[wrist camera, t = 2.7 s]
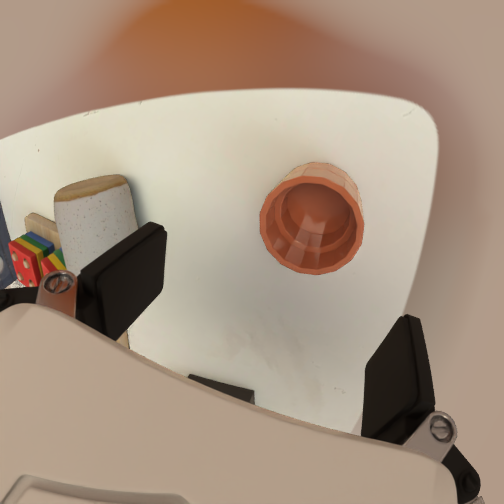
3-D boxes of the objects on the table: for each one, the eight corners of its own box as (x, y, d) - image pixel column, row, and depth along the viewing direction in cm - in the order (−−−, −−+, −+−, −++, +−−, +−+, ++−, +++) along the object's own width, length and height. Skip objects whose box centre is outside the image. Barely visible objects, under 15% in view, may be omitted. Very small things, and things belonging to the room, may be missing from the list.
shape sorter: (32, 211, 32) (-1, 228, 27) (119, 250, 29) (81, 279, 24) (52, 306, 41) (29, 326, 36) (130, 354, 38) (107, 383, 33)
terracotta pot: (377, 209, 20) (384, 237, 15) (315, 255, 23) (306, 291, 19) (321, 144, 19) (313, 153, 15) (262, 197, 22) (239, 221, 18)
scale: (254, 390, 33) (247, 408, 31) (255, 424, 37) (249, 440, 34) (189, 373, 35) (180, 389, 33) (199, 408, 39) (192, 423, 37)
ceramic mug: (143, 166, 24) (77, 193, 17) (160, 252, 27) (107, 295, 21) (73, 177, 27) (17, 201, 21) (90, 246, 31) (42, 278, 24)
